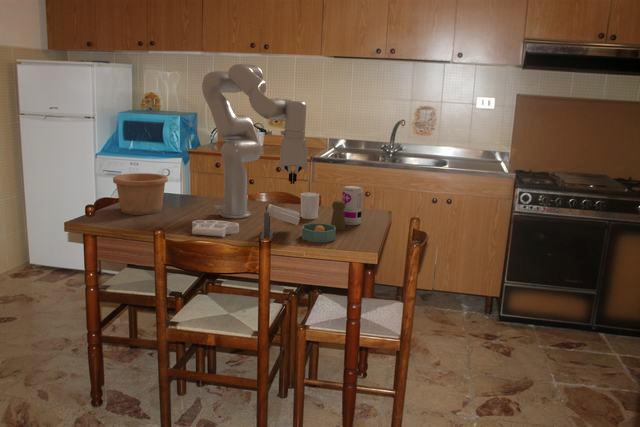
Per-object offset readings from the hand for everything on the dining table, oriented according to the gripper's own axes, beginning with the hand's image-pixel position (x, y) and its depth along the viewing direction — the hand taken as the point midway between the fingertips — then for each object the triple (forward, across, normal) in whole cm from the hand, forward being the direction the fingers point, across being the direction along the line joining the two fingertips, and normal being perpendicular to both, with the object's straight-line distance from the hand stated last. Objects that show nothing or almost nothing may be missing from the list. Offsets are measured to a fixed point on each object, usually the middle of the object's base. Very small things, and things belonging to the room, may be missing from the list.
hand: (292, 183), depth 223 cm
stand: (+18, -8, -11) cm, 23 cm away
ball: (+15, +11, -11) cm, 22 cm away
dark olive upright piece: (+18, +19, +4) cm, 26 cm away
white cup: (+19, +8, +21) cm, 29 cm away
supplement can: (+18, +25, +13) cm, 33 cm away
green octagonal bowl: (+18, +11, -11) cm, 24 cm away
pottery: (+20, -63, +25) cm, 71 cm away
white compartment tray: (+19, -28, -6) cm, 35 cm away
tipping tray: (+11, -3, -6) cm, 13 cm away
